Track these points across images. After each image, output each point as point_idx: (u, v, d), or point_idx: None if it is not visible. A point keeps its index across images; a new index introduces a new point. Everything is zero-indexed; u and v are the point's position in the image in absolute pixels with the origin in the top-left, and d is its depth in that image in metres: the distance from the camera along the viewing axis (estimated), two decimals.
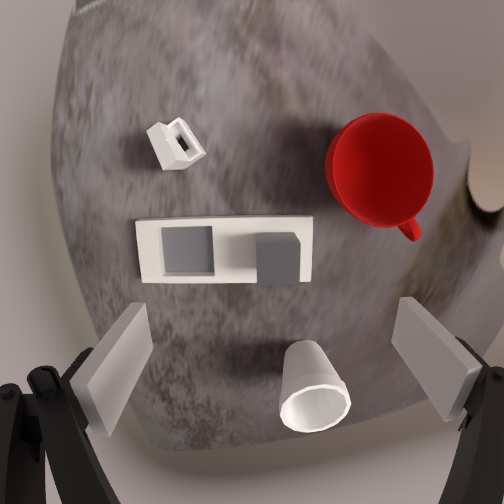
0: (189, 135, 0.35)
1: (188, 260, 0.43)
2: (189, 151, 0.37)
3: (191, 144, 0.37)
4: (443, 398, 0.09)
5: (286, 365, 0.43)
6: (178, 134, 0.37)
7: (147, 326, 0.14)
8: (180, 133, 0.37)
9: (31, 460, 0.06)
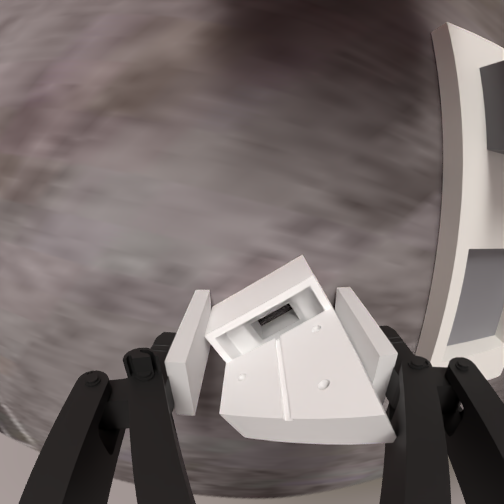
0: (258, 310, 0.13)
1: (493, 294, 0.16)
2: (297, 302, 0.15)
3: None
4: None
5: None
6: (249, 328, 0.15)
7: (210, 312, 0.16)
8: (247, 324, 0.15)
9: (105, 452, 0.07)
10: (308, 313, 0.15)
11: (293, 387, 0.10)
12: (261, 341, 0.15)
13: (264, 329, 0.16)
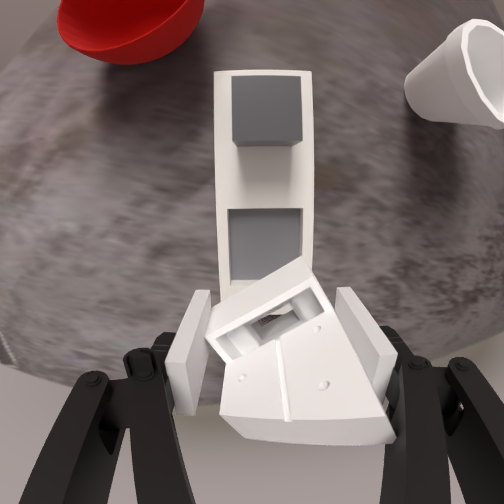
0: (258, 310, 0.13)
1: (282, 244, 0.30)
2: (297, 303, 0.15)
3: None
4: None
5: (439, 114, 0.22)
6: (249, 329, 0.15)
7: (210, 312, 0.16)
8: (247, 324, 0.15)
9: (105, 452, 0.07)
10: (308, 314, 0.15)
11: (293, 388, 0.10)
12: (261, 342, 0.15)
13: (264, 329, 0.16)
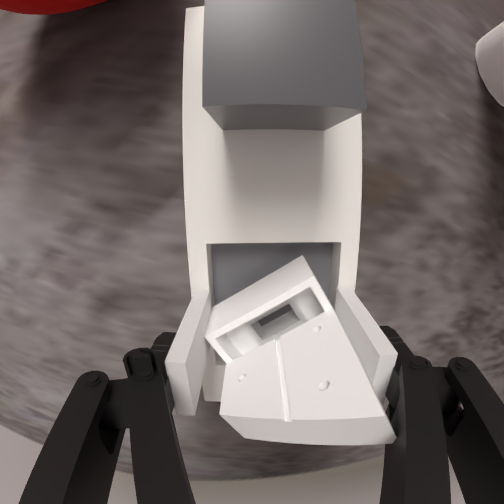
0: (258, 310, 0.13)
1: None
2: (297, 303, 0.15)
3: None
4: None
5: None
6: (249, 329, 0.15)
7: (210, 312, 0.16)
8: (247, 324, 0.15)
9: (105, 452, 0.07)
10: (308, 314, 0.15)
11: (293, 388, 0.10)
12: (261, 341, 0.15)
13: (264, 329, 0.16)
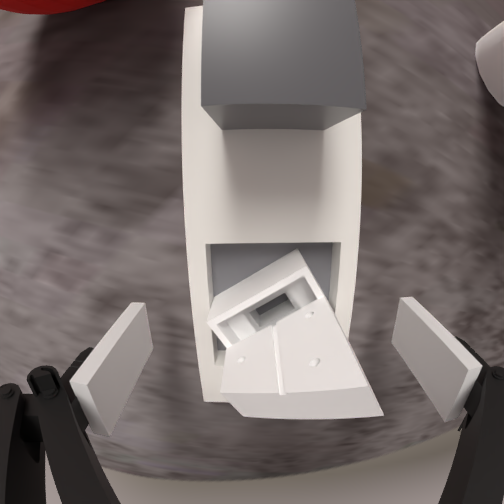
0: (256, 298, 0.15)
1: None
2: (292, 292, 0.16)
3: None
4: (443, 398, 0.09)
5: None
6: (248, 316, 0.17)
7: (147, 326, 0.14)
8: (246, 312, 0.16)
9: (31, 460, 0.06)
10: (302, 302, 0.16)
11: (287, 366, 0.11)
12: (259, 328, 0.17)
13: (262, 318, 0.18)
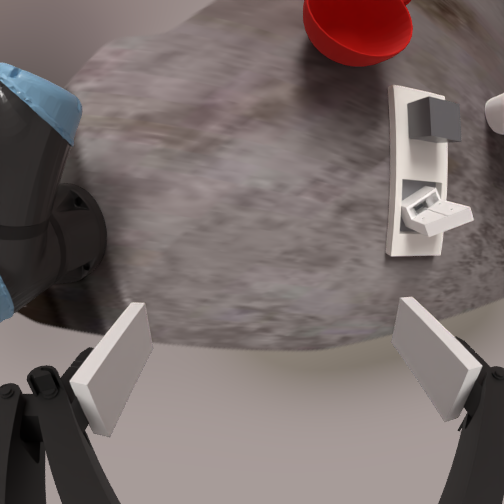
0: (422, 198, 0.36)
1: None
2: (428, 200, 0.37)
3: None
4: (443, 398, 0.09)
5: None
6: (413, 209, 0.37)
7: (147, 326, 0.14)
8: (413, 207, 0.37)
9: (31, 460, 0.06)
10: (430, 205, 0.37)
11: (443, 212, 0.32)
12: (416, 215, 0.38)
13: None
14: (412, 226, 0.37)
